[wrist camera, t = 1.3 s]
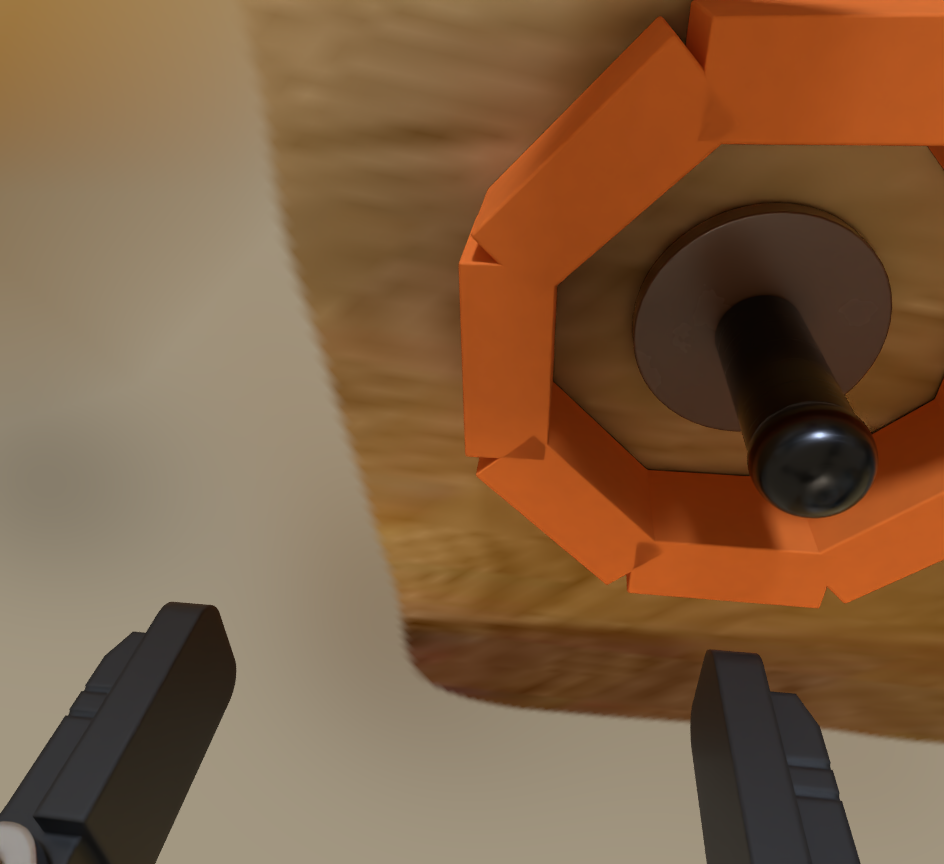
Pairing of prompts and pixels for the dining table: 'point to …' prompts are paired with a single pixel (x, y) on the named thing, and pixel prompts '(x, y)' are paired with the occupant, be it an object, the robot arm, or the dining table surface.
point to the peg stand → (771, 346)
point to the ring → (610, 210)
